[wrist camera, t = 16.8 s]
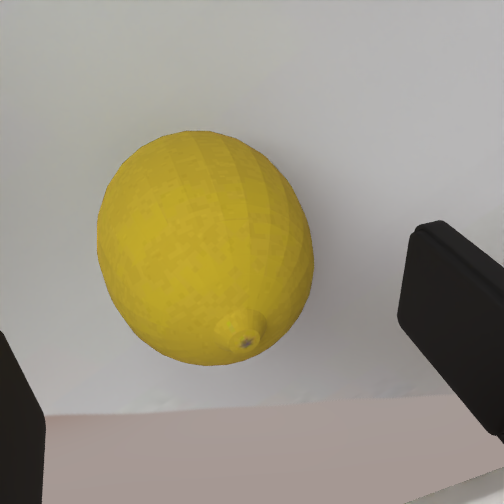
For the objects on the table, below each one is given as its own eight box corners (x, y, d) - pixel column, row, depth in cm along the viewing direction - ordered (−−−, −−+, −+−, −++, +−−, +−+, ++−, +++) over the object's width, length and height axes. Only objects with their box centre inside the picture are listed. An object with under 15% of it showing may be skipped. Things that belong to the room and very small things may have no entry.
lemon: (165, 271, 18) (214, 460, 12) (52, 168, 15) (37, 356, 8) (283, 184, 17) (401, 333, 11) (195, 56, 14) (294, 167, 8)
